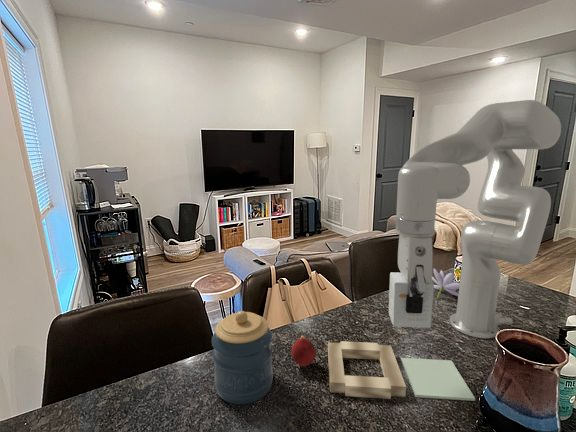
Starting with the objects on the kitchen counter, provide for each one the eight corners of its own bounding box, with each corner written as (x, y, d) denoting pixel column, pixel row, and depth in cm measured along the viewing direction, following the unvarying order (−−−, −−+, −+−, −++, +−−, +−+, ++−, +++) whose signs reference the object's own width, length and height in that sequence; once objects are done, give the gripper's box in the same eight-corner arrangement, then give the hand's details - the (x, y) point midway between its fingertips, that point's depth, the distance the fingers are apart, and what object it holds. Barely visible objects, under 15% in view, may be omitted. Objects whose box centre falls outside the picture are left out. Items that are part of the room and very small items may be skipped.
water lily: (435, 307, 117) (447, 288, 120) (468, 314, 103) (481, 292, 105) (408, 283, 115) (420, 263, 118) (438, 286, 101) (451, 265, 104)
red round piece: (317, 360, 78) (318, 331, 77) (312, 376, 73) (312, 345, 71) (295, 355, 80) (295, 327, 78) (288, 370, 75) (288, 340, 73)
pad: (451, 362, 77) (451, 360, 77) (475, 400, 65) (475, 398, 65) (400, 359, 78) (400, 357, 78) (415, 397, 67) (415, 394, 66)
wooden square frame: (389, 352, 81) (390, 343, 81) (406, 399, 66) (407, 389, 65) (327, 349, 83) (328, 340, 82) (330, 395, 67) (330, 384, 67)
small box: (423, 314, 73) (426, 272, 70) (431, 328, 67) (435, 283, 65) (387, 313, 74) (389, 271, 71) (392, 327, 68) (394, 282, 66)
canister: (249, 356, 80) (247, 292, 76) (285, 383, 71) (284, 311, 67) (203, 383, 71) (198, 311, 67) (237, 417, 62) (233, 337, 58)
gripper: (449, 238, 57) (441, 327, 61) (421, 216, 73) (416, 288, 77) (406, 237, 58) (401, 326, 62) (388, 216, 74) (385, 287, 78)
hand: (409, 304), depth 69 cm, fingers closed on small box, 5 cm apart
